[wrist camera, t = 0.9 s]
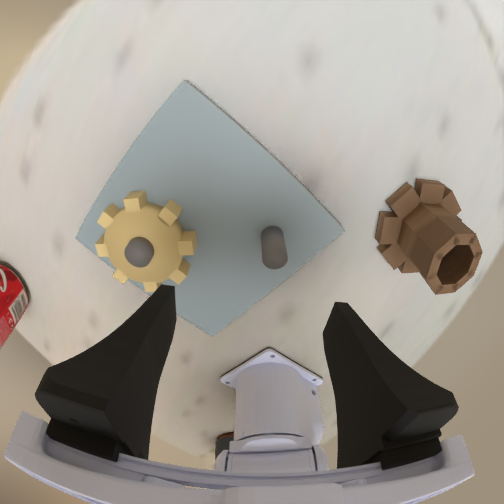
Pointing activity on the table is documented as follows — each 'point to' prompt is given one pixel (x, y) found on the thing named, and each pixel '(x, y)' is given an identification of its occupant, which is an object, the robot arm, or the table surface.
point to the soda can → (10, 302)
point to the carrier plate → (205, 214)
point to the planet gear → (428, 236)
